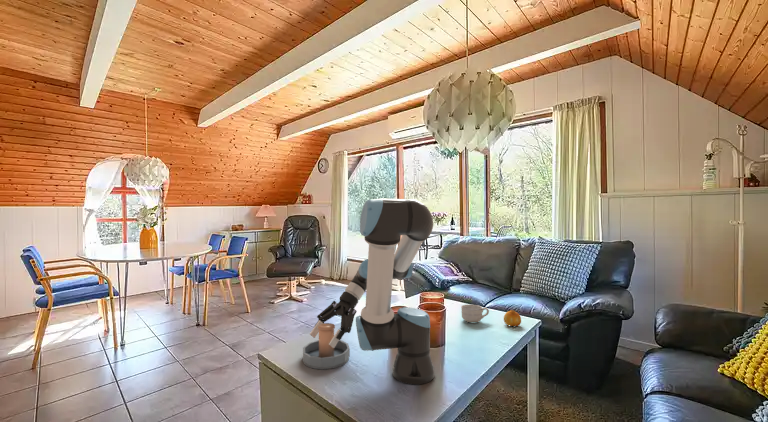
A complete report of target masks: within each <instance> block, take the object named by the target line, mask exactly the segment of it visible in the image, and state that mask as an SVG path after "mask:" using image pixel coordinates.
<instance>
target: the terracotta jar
mask: <svg viewBox="0 0 768 422" xmlns="http://www.w3.org/2000/svg"><path fill="white" fill-rule="evenodd" d="M335 325H336V324H334V323H331V322H330V323H329V322H324V324H320V325H319V326H318V330H319V332H318V340H319V357H321V358H324V357H334V348H333V347H331V346H330V345H329V343H330V341H331V340H332V338H333V337H334V335H335V328H336V326H335Z"/></svg>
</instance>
